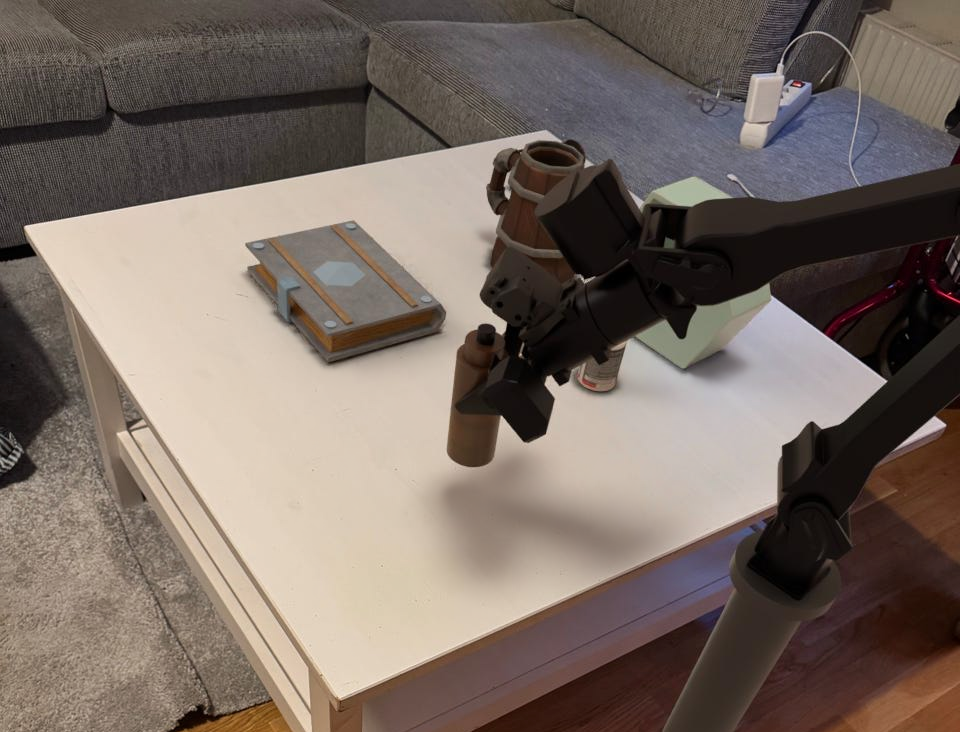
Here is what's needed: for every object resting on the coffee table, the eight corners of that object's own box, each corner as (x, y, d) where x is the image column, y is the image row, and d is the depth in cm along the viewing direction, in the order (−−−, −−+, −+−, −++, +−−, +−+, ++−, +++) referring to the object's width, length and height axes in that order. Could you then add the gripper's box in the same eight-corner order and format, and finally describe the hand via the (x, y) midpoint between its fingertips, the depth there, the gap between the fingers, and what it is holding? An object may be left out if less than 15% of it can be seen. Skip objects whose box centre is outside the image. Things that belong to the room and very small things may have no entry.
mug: (592, 273, 126) (618, 161, 114) (533, 300, 120) (553, 185, 108) (512, 223, 132) (528, 112, 120) (451, 246, 126) (462, 132, 114)
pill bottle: (622, 388, 110) (640, 327, 103) (589, 395, 108) (605, 333, 102) (602, 365, 112) (618, 304, 106) (569, 372, 111) (583, 310, 104)
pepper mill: (504, 454, 91) (525, 331, 80) (470, 474, 88) (487, 351, 78) (470, 429, 93) (486, 306, 82) (436, 448, 90) (448, 324, 79)
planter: (632, 371, 120) (598, 204, 111) (670, 352, 124) (640, 189, 115) (739, 366, 107) (711, 176, 98) (778, 345, 111) (754, 160, 102)
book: (444, 332, 113) (447, 295, 109) (325, 366, 106) (324, 328, 102) (359, 249, 122) (359, 212, 118) (244, 274, 115) (241, 236, 111)
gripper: (567, 181, 78) (433, 273, 87) (528, 293, 66) (378, 386, 75) (635, 286, 84) (502, 362, 93) (610, 405, 72) (461, 479, 81)
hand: (463, 393), depth 85 cm, fingers closed on pepper mill, 5 cm apart
